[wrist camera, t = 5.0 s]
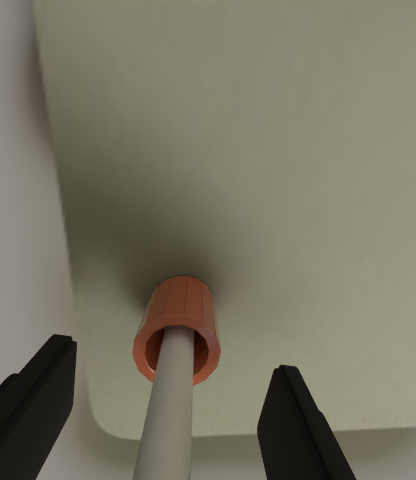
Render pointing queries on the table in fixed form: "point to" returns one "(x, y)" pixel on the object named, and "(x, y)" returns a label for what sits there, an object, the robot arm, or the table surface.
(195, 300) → the pen holder
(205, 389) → the table surface
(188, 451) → the stylus
